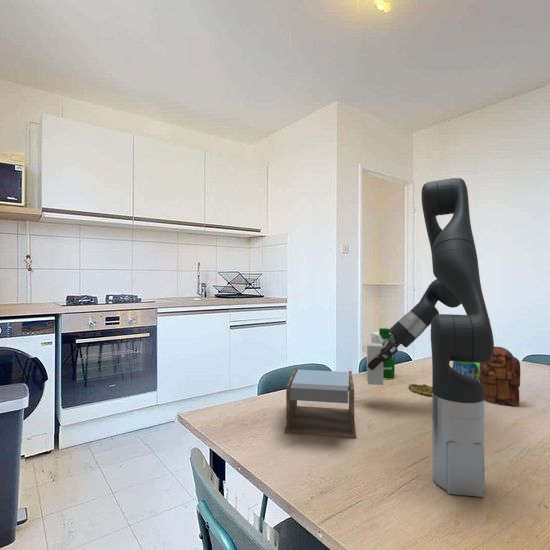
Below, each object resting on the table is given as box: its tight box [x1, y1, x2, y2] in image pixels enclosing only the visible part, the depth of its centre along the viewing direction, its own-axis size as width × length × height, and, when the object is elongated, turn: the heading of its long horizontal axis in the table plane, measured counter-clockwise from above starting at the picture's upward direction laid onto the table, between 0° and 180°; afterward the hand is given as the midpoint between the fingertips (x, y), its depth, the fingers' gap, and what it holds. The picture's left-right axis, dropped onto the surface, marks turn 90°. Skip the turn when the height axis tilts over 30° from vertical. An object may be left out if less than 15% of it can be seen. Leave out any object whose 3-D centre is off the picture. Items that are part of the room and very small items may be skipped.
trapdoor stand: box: [284, 367, 357, 439], centre depth 102 cm, size 18×18×12 cm
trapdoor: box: [290, 369, 349, 404], centre depth 99 cm, size 22×15×3 cm
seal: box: [408, 383, 432, 398], centre depth 128 cm, size 9×5×15 cm
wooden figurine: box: [479, 345, 521, 407], centre depth 119 cm, size 12×6×18 cm, turn 52°
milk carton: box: [370, 327, 396, 379], centre depth 149 cm, size 9×9×20 cm
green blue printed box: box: [451, 361, 481, 382], centre depth 139 cm, size 16×10×10 cm
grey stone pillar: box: [366, 342, 384, 386], centre depth 115 cm, size 5×5×12 cm
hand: (368, 365), depth 115 cm, fingers closed on grey stone pillar, 5 cm apart
